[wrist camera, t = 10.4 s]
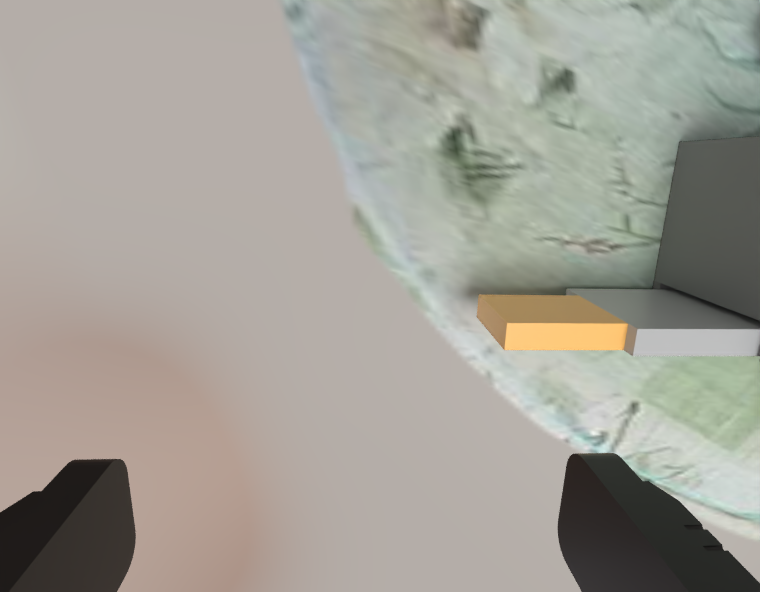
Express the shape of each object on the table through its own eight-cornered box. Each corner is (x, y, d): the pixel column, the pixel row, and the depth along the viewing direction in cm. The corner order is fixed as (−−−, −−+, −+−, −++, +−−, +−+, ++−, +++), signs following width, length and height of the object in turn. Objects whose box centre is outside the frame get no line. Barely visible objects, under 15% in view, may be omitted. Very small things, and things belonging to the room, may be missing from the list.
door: (471, 287, 34) (512, 328, 25) (697, 289, 35) (808, 329, 27) (470, 308, 34) (509, 356, 26) (693, 310, 35) (801, 356, 27)
